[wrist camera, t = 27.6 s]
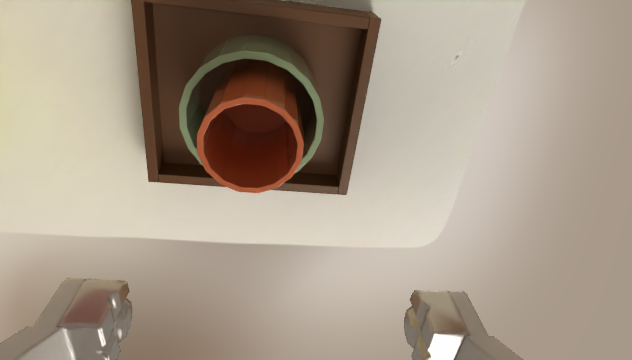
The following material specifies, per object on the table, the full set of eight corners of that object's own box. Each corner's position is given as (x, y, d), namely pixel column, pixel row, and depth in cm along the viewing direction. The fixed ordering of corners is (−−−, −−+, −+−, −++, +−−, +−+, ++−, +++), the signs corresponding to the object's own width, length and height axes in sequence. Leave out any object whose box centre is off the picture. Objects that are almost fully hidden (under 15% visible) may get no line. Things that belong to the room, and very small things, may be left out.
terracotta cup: (302, 62, 31) (309, 103, 23) (293, 137, 34) (297, 195, 27) (217, 52, 30) (195, 92, 23) (216, 131, 34) (197, 189, 26)
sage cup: (324, 40, 31) (333, 60, 26) (309, 152, 36) (314, 188, 31) (193, 24, 30) (175, 43, 25) (196, 144, 35) (181, 180, 30)
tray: (373, 12, 30) (381, 18, 28) (342, 178, 38) (346, 195, 35) (142, -18, 28) (129, -13, 26) (157, 165, 36) (148, 181, 33)
